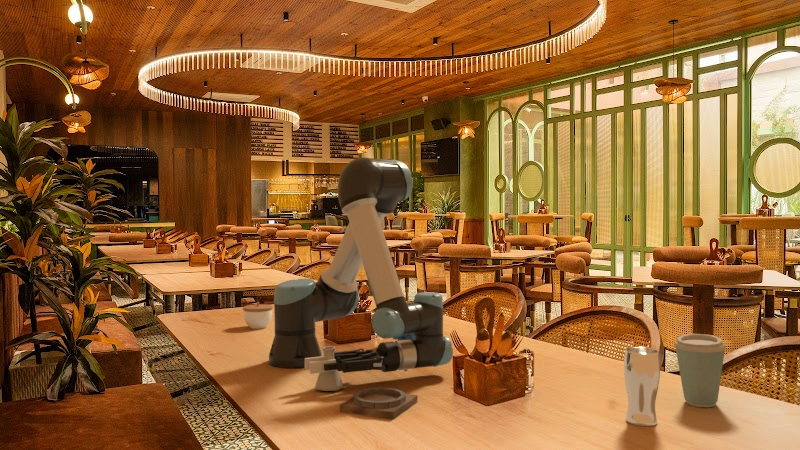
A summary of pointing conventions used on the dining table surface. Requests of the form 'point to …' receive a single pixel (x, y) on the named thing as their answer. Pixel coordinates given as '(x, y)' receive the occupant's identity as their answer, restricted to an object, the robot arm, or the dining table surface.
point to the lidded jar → (257, 315)
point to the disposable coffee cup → (700, 367)
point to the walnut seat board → (379, 402)
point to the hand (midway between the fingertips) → (307, 365)
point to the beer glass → (641, 384)
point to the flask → (329, 374)
